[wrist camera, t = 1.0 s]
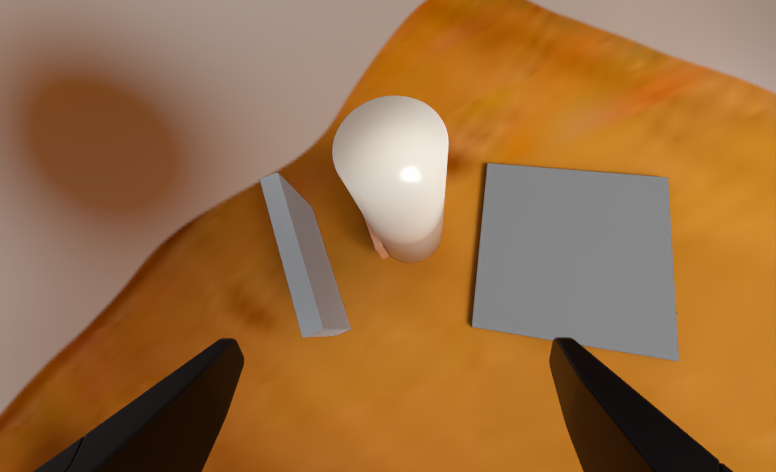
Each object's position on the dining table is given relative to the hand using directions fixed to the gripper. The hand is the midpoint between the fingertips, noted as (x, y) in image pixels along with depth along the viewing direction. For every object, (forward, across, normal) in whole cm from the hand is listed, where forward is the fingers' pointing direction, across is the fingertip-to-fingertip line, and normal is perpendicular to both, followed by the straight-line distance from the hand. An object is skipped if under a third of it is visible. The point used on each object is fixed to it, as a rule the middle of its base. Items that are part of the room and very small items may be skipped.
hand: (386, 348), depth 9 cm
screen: (+13, +7, +6) cm, 16 cm away
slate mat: (+14, -11, +6) cm, 18 cm away
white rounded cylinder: (+15, 0, +4) cm, 15 cm away
